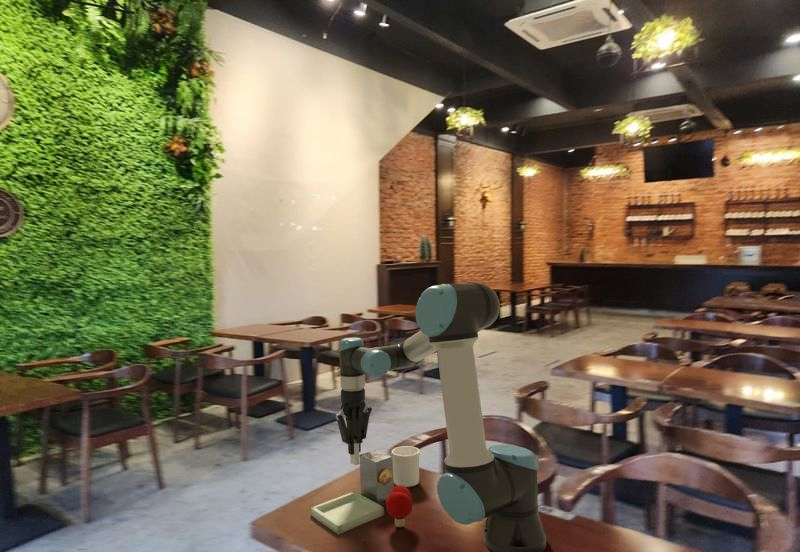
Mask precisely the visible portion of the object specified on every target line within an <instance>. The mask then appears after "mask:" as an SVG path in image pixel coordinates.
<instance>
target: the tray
mask: <svg viewBox="0 0 800 552" xmlns="http://www.w3.org/2000/svg"><path fill="white" fill-rule="evenodd" d="M384 515H385V506H384V507H382V506H381V505H379V504H377V503H375V502H373V501H372V500H370V499H368V498H366V497H364V496H362V495H361V494H359V492H357V491H355V490H354V491H351V492H349V493H346V494H344V495H341V496H339V497H336V498H333V499H330V500H327V501H325V502H322V503H320V504H317V505H315V506H312V507H310V516H311V517H312V518H314V519H315V520H317V521H318V522H319V523H321V524H322V525H324V526H325V527H327V528H328V529H330V530H331V531H332V532H334V533H336V534H337V535H341V534H343V533H346V532H348V531H350V530H353V529H354V528H355V529H356V528H357V527H360V526H362V525H365V524H367V523H369V522H372V521H374V520H376V519H378V518H381V517H383V516H384Z"/></svg>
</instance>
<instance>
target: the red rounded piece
mask: <svg viewBox="0 0 800 552" xmlns="http://www.w3.org/2000/svg"><path fill="white" fill-rule="evenodd" d="M413 503H414V502H413V497H412V494H411V491H410V490H409V488H406V487H405V486H395V487H394V486H393V489H392V490H391V492H390V493H389V495H388V497H387V500H386V506H385V508H386V511H387V514H388V515H390V516H391V517H394V525H395V526H396V527H398V528H399V529H400V528H401V529H402V527H404V526H405V525H406V523H405V522H406V520H405V519H406V517H409V515H410V514H411V513H412V511H413Z"/></svg>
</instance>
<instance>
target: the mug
mask: <svg viewBox="0 0 800 552" xmlns="http://www.w3.org/2000/svg"><path fill="white" fill-rule="evenodd" d="M420 452H421V451H420V449H419V448H418V447H416V446H410V445H402V446H397V447H394V448H393V449H391V456H392V471H393V485H394V486H395V487H396V486H405V487H406V488H407V489H413V488H415V487H417V486H419V484H420Z"/></svg>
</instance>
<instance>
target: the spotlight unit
mask: <svg viewBox="0 0 800 552" xmlns="http://www.w3.org/2000/svg"><path fill="white" fill-rule="evenodd" d="M359 478H360V481H359V482H360V483H359V484H360V493H359V492H358V493H359V494H361V495H362V496H364V497H366V498H368V499H370V500H372V501H373V502H375V503H377V504H379V505H381V506H382V507H384V508H385V507H386V500H387V497H388V495H389V493H390V492H391V490H392V489H393V488H394V476H393V459H392V455H389V454H387V453H384V452H382V451H379V450H377V449H374V450H370V451H367V452H363V453H361V454H359Z"/></svg>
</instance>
